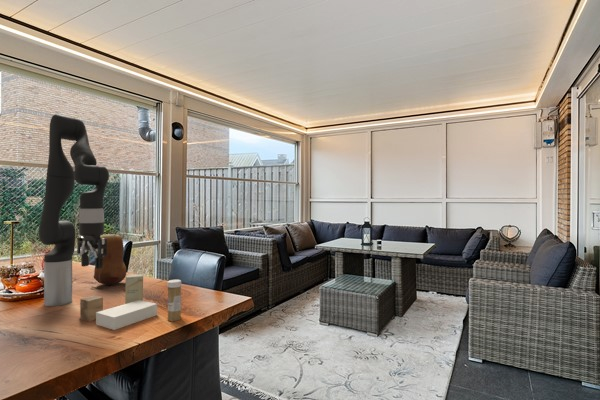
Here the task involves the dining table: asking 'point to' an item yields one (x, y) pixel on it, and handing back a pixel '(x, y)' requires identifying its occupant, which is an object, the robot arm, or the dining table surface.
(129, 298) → the skincare box
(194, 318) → the dining table surface
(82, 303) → the walnut block
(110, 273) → the butternut squash
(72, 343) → the dining table surface
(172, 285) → the sprinkles bottle
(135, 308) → the white block
